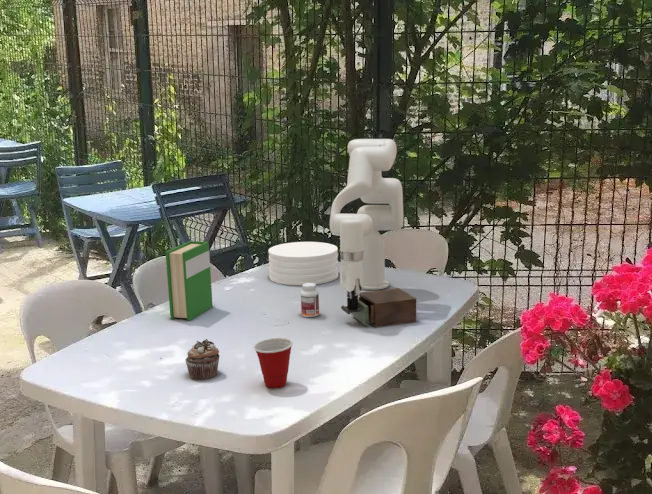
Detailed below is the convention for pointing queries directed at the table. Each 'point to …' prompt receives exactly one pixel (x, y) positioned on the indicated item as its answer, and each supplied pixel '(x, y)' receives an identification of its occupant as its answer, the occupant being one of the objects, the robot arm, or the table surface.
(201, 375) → the cupcake
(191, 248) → the hardback book
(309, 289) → the pill bottle
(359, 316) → the drawer
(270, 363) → the plastic cup
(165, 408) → the table surface
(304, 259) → the plate stack
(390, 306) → the cabinet
